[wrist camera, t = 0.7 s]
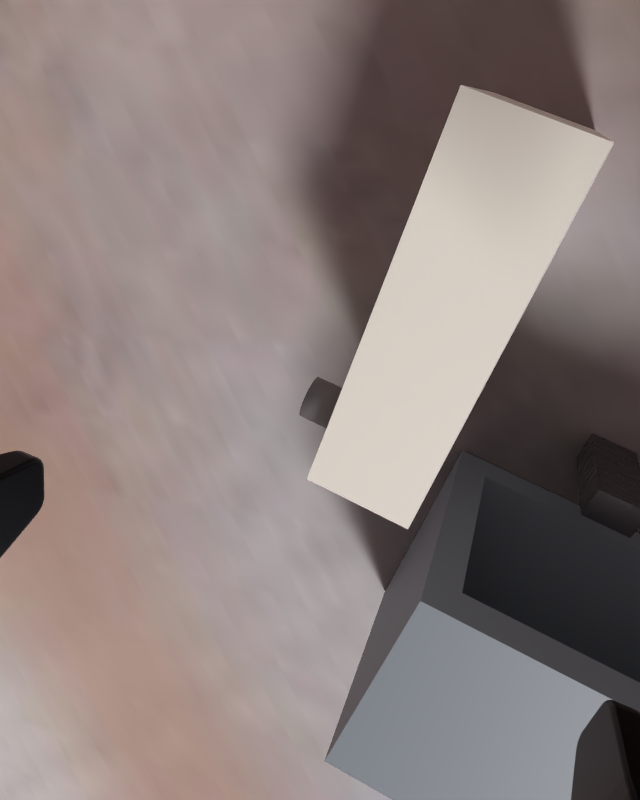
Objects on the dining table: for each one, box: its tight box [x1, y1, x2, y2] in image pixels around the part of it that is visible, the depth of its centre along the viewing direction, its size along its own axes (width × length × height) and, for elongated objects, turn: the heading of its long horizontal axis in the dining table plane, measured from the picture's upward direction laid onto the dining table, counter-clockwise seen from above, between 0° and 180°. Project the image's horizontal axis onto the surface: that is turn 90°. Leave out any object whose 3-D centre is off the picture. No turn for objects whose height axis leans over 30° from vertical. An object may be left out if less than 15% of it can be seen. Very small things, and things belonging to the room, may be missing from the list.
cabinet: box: [325, 450, 640, 800], centre depth 20 cm, size 16×8×8 cm, turn 74°
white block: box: [300, 85, 614, 529], centre depth 17 cm, size 10×4×7 cm, turn 164°
